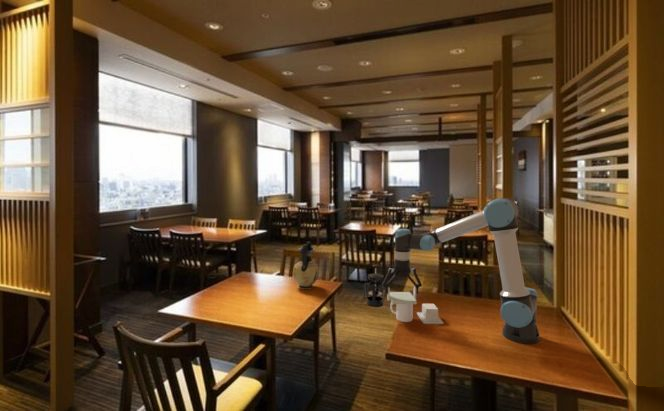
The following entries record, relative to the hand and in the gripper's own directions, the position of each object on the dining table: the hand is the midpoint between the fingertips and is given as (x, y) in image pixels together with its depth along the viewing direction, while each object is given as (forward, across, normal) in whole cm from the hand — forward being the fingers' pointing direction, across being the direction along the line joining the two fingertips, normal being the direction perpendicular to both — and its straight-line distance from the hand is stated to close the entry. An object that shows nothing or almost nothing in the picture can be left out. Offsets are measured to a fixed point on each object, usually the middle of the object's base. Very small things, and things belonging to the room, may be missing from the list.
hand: (401, 299), depth 183 cm
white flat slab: (0, 0, 0) cm, 0 cm away
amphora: (+10, +52, -52) cm, 74 cm away
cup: (+10, 0, 0) cm, 10 cm away
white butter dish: (+10, -15, 0) cm, 18 cm away
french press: (+10, +11, -21) cm, 26 cm away
